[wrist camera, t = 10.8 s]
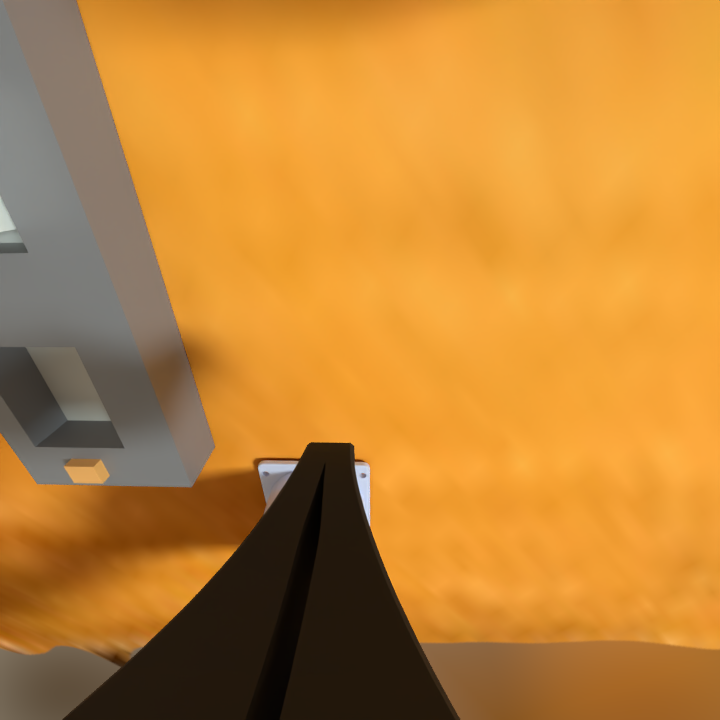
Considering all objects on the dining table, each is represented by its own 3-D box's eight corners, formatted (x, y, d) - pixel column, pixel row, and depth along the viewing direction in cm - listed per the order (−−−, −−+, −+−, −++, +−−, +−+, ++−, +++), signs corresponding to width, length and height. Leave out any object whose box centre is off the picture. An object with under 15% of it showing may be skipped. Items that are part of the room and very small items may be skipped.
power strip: (215, 446, 24) (187, 495, 20) (79, 444, 24) (28, 492, 21) (60, -51, 12) (-72, -142, 8) (-200, -38, 12) (-429, -120, 9)
